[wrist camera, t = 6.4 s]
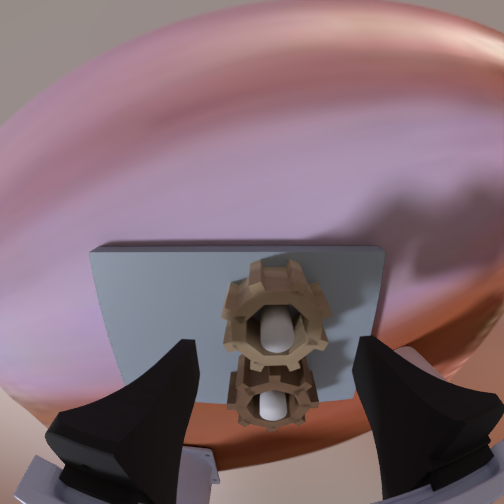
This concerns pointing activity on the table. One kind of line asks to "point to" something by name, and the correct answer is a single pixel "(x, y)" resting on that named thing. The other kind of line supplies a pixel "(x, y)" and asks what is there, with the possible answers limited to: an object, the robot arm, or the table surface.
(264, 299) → the beech gear
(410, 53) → the table surface
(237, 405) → the walnut gear
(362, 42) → the table surface
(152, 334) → the gear board
